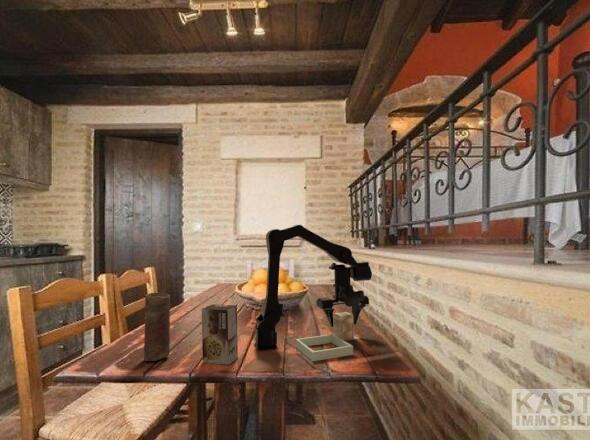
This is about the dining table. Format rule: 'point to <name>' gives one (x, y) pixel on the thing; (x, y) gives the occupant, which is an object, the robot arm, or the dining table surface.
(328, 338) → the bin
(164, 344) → the candle
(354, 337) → the stud block
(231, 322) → the coffee box
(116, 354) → the dining table surface
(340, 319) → the tan rectangular block
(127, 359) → the dining table surface
